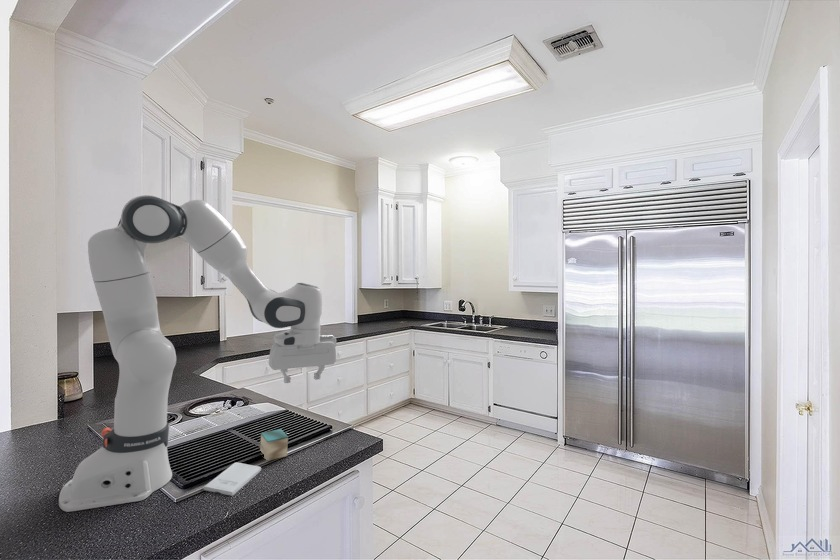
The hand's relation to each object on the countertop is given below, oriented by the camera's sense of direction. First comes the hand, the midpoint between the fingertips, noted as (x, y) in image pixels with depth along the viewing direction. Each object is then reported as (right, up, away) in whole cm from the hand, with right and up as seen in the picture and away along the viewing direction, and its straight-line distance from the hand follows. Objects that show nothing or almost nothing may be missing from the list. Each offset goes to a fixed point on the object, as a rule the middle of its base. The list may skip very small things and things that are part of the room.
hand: (302, 380), depth 127 cm
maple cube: (-7, -15, -4) cm, 17 cm away
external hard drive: (-13, -22, -18) cm, 32 cm away
